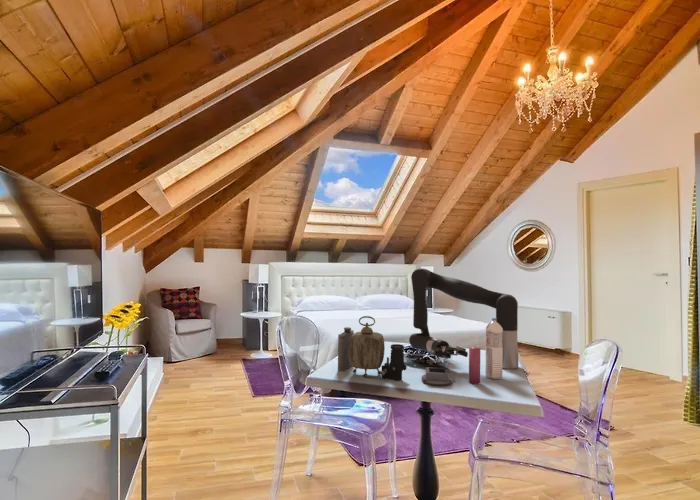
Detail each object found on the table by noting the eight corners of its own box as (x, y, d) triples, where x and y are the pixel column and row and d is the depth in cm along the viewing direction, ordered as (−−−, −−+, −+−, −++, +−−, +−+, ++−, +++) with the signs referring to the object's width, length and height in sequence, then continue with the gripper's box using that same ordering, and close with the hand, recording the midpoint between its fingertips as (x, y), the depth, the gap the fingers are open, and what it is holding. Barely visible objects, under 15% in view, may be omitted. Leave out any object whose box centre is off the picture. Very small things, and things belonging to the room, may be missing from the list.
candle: (479, 381, 170) (479, 346, 170) (480, 384, 166) (481, 349, 166) (468, 380, 171) (468, 346, 171) (469, 383, 166) (469, 348, 167)
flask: (355, 364, 194) (356, 325, 195) (344, 372, 181) (345, 330, 181) (348, 363, 196) (348, 324, 196) (336, 371, 182) (337, 329, 182)
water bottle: (500, 381, 171) (501, 319, 171) (483, 378, 174) (484, 318, 175) (503, 376, 177) (504, 317, 177) (487, 374, 180) (487, 316, 181)
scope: (386, 342, 178) (409, 344, 173) (386, 374, 177) (409, 378, 173) (379, 345, 170) (403, 348, 166) (379, 379, 170) (403, 383, 166)
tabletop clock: (384, 374, 179) (385, 315, 179) (382, 380, 170) (383, 318, 170) (351, 371, 181) (351, 314, 182) (347, 377, 172) (348, 317, 173)
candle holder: (450, 378, 174) (450, 367, 174) (453, 387, 162) (453, 375, 162) (421, 376, 176) (421, 365, 176) (421, 385, 164) (421, 373, 164)
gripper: (424, 340, 191) (444, 347, 176) (451, 338, 196) (472, 345, 181) (424, 356, 191) (444, 365, 176) (450, 354, 196) (472, 362, 181)
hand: (458, 355), depth 179 cm, fingers open, 8 cm apart
